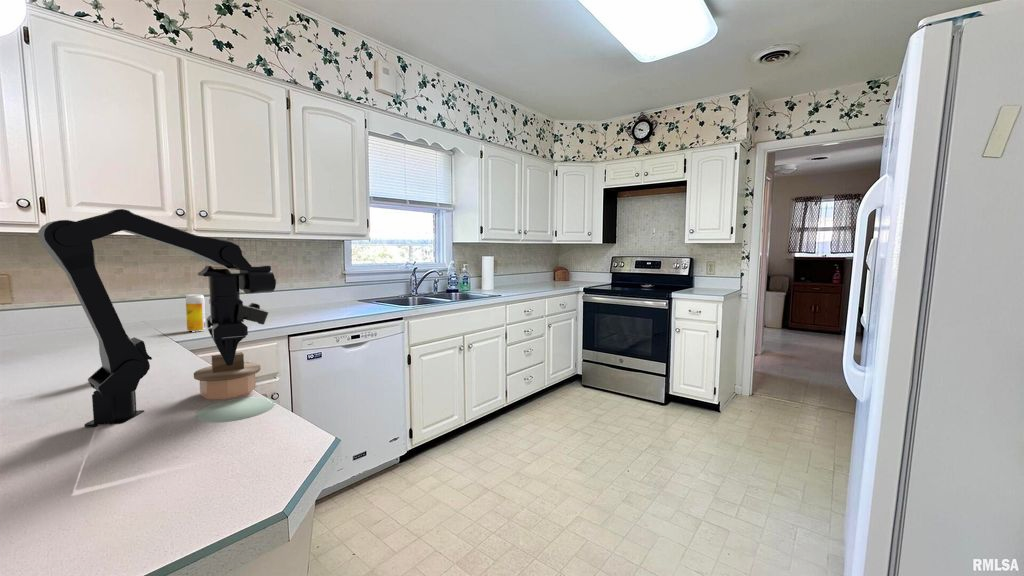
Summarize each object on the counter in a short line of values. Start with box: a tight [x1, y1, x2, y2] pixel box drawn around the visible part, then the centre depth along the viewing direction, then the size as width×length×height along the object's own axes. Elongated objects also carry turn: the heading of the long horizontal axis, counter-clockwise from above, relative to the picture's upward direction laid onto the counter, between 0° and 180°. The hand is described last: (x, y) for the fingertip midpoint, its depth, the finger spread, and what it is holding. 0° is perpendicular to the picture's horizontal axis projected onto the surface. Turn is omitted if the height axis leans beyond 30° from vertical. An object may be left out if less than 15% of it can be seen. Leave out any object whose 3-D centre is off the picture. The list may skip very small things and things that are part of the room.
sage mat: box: [195, 396, 276, 423], centre depth 88 cm, size 14×14×1 cm
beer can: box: [185, 293, 207, 332], centre depth 170 cm, size 6×6×15 cm
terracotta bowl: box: [199, 373, 257, 400], centre depth 98 cm, size 10×10×5 cm
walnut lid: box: [193, 352, 262, 382], centre depth 98 cm, size 13×13×4 cm
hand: (227, 361), depth 98 cm, fingers open, 8 cm apart
